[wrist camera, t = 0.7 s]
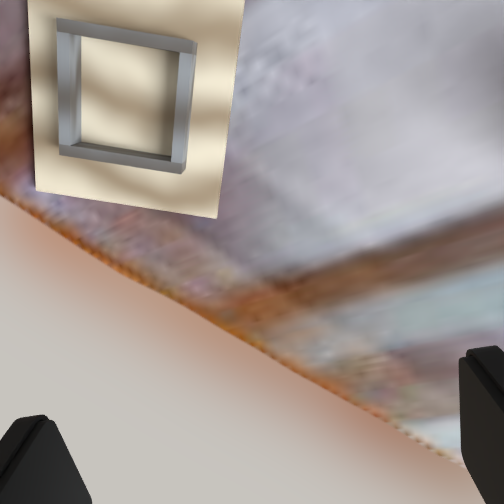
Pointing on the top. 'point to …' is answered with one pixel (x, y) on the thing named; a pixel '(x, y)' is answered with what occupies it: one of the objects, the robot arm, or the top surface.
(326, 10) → the top surface
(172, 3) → the holder board
